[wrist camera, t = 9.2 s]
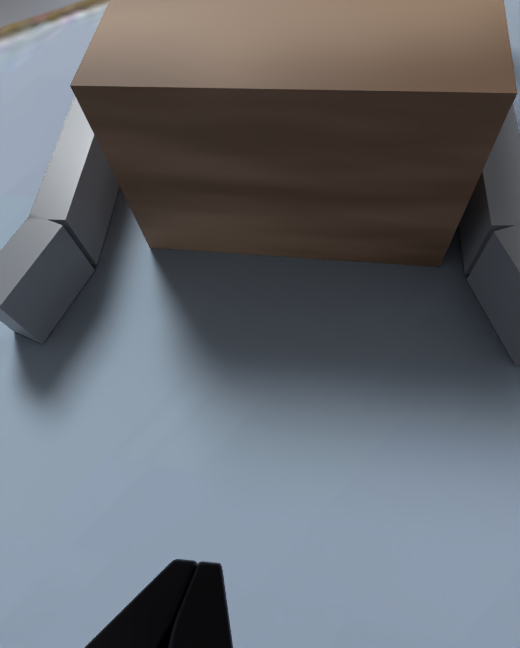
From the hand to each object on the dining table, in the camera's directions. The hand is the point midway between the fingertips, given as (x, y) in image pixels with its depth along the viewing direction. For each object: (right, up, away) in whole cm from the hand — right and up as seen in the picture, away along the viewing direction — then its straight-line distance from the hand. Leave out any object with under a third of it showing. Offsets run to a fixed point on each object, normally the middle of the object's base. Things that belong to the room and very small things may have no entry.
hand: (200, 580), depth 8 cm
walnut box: (+3, +13, +15) cm, 20 cm away
